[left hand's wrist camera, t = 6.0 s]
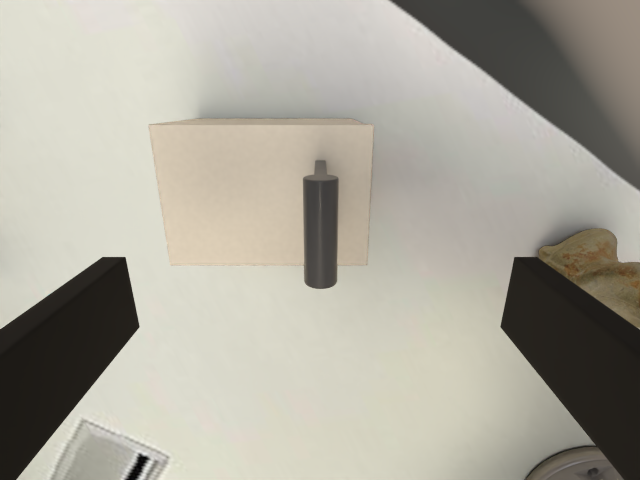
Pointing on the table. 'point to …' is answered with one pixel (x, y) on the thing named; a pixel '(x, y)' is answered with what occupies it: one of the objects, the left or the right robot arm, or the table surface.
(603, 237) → the sculpture
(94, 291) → the left robot arm
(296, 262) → the lid
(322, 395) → the table surface
